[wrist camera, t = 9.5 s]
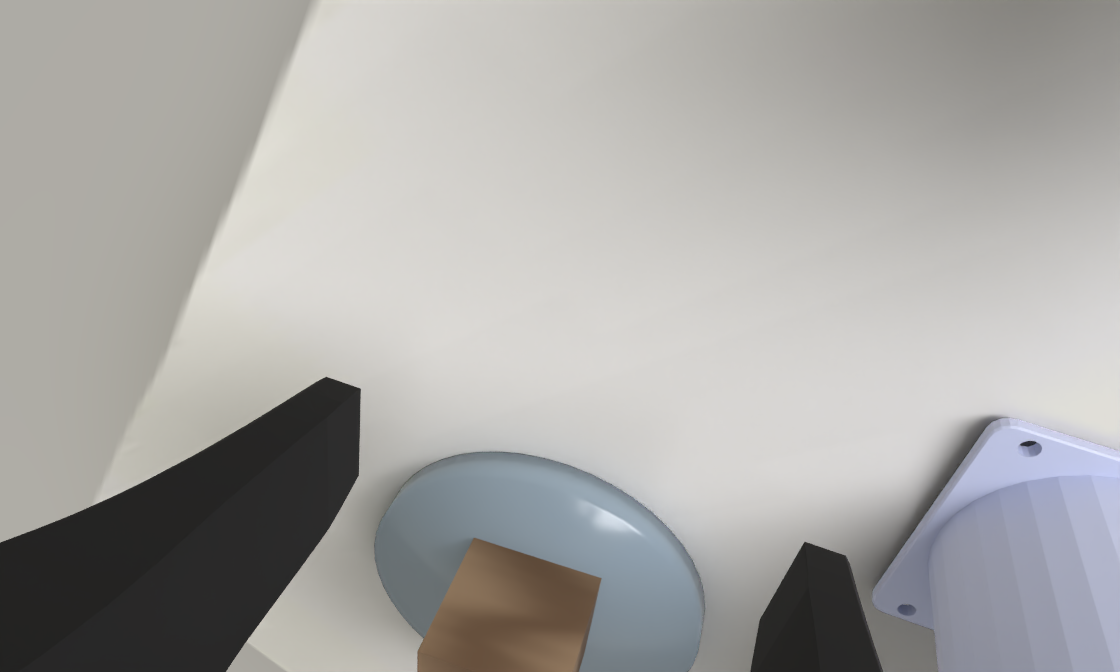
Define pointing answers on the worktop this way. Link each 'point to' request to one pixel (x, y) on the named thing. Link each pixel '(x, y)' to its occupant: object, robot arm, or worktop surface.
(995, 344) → the worktop surface
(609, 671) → the slate dish
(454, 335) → the worktop surface
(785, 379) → the worktop surface
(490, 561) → the walnut block
